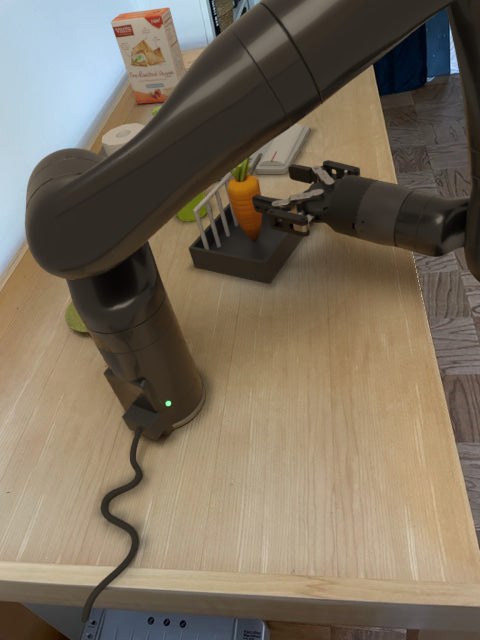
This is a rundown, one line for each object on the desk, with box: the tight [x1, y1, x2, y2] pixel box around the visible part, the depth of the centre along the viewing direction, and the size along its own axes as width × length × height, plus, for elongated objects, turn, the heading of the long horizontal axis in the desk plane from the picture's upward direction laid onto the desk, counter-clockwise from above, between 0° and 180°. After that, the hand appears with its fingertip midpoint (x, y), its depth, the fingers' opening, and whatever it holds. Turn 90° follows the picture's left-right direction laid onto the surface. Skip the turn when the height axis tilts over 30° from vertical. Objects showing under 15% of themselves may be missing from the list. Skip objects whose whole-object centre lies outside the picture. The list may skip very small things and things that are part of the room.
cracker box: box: [110, 7, 187, 105], centre depth 136 cm, size 14×6×21 cm, turn 73°
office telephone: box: [219, 123, 312, 181], centre depth 111 cm, size 23×3×20 cm
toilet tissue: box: [97, 122, 146, 158], centre depth 113 cm, size 9×13×9 cm
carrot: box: [228, 157, 262, 241], centre depth 83 cm, size 5×5×15 cm
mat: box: [64, 300, 89, 333], centre depth 83 cm, size 11×11×2 cm
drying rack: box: [188, 168, 311, 285], centre depth 85 cm, size 16×14×10 cm
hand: (272, 186), depth 76 cm, fingers open, 8 cm apart
